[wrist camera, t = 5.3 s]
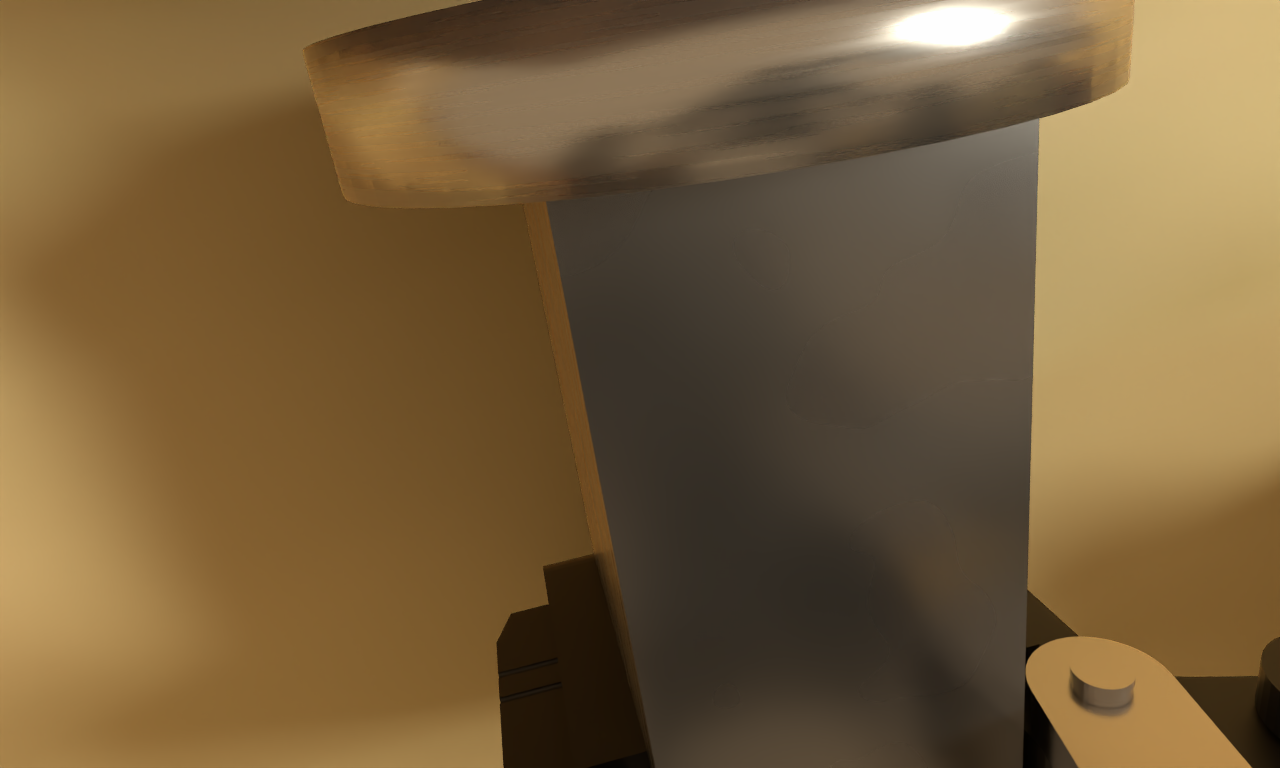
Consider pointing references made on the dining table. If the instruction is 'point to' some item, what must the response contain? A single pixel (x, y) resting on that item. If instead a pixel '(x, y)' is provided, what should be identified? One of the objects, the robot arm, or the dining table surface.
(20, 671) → the dining table surface
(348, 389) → the dining table surface
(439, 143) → the grey capped rod
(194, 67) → the dining table surface
